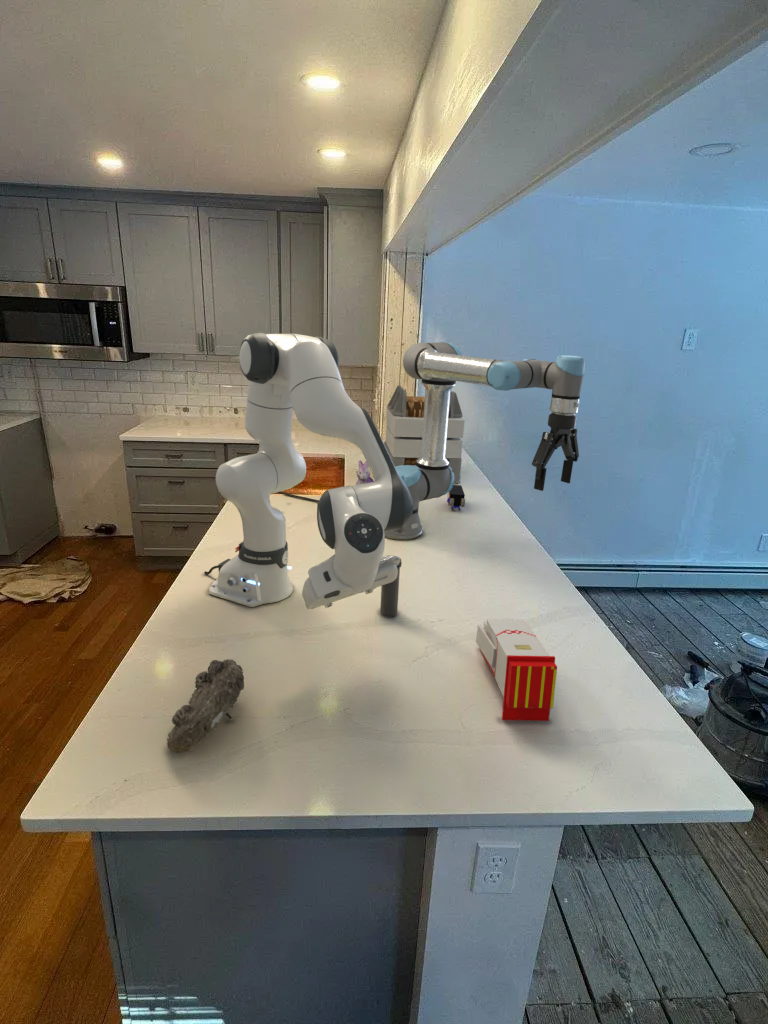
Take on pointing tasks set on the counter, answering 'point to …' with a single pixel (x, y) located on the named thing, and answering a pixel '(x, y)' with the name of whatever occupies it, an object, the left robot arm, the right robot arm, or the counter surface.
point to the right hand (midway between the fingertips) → (552, 485)
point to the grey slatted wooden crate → (420, 430)
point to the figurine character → (456, 497)
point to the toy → (519, 668)
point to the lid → (399, 563)
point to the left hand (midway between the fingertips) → (347, 597)
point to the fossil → (206, 705)
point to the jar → (390, 597)
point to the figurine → (363, 474)
